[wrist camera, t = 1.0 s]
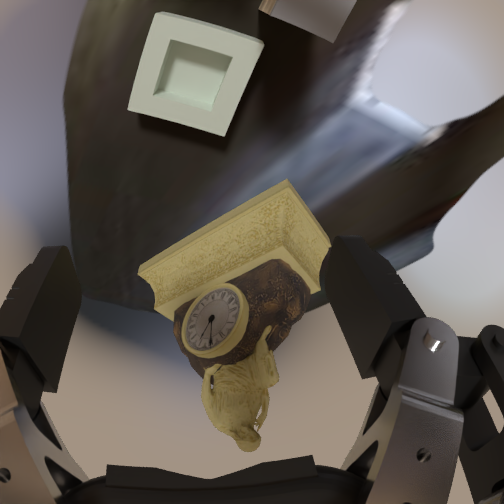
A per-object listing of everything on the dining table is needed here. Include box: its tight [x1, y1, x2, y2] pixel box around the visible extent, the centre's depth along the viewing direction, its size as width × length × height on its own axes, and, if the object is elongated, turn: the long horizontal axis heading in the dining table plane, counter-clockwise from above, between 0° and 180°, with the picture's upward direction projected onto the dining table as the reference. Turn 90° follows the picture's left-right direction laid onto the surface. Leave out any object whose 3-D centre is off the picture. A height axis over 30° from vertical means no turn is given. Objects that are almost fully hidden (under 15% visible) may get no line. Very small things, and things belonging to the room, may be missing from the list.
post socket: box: [128, 12, 264, 137], centre depth 29 cm, size 11×11×4 cm
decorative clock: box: [138, 179, 331, 452], centre depth 40 cm, size 28×13×30 cm, turn 124°
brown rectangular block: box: [259, 0, 357, 43], centre depth 20 cm, size 4×4×14 cm
